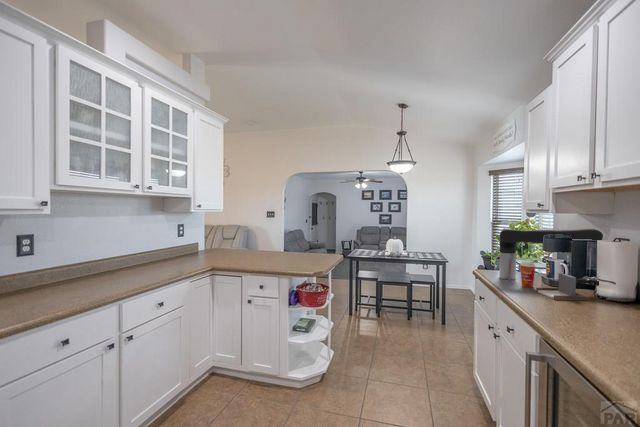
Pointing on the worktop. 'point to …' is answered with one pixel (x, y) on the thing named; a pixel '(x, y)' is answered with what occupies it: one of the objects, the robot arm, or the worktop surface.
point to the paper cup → (527, 274)
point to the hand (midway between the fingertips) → (577, 281)
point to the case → (563, 297)
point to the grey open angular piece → (562, 286)
